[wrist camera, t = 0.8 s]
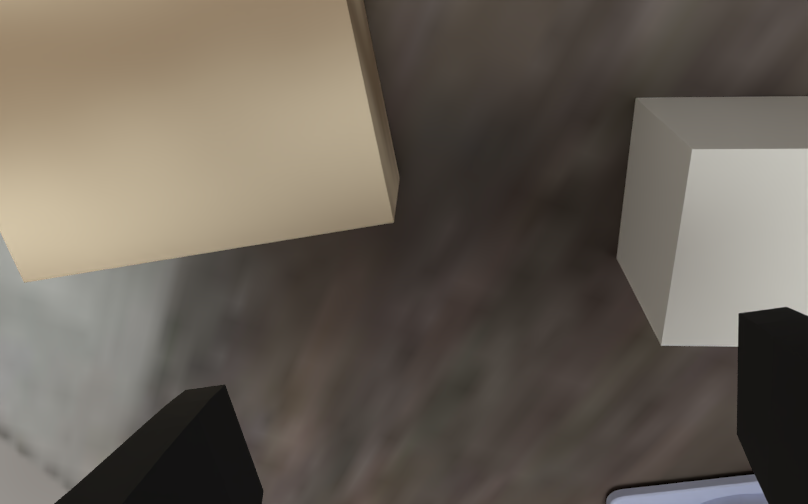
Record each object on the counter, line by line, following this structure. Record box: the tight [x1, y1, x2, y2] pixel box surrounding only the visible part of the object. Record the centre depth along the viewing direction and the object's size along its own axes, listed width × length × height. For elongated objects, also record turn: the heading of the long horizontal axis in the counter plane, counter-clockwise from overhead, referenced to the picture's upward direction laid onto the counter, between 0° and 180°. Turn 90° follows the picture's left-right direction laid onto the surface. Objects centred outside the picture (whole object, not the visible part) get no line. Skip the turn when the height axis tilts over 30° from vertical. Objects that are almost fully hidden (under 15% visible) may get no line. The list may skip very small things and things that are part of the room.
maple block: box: [0, 0, 400, 283], centre depth 16 cm, size 9×9×3 cm
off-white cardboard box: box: [617, 96, 808, 347], centre depth 16 cm, size 5×5×6 cm
